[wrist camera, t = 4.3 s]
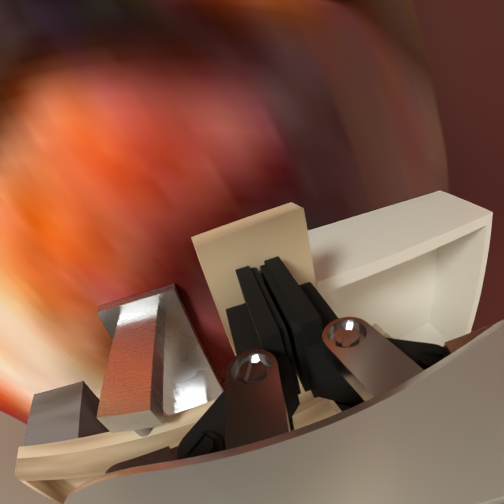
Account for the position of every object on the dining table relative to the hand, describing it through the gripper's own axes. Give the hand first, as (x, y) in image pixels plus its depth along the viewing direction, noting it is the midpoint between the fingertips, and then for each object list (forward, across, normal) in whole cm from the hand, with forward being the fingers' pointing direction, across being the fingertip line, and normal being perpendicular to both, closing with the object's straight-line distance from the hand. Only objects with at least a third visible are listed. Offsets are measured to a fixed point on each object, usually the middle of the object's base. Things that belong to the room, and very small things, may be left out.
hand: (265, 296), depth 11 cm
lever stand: (+9, +8, +9) cm, 15 cm away
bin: (+9, -10, +9) cm, 16 cm away
